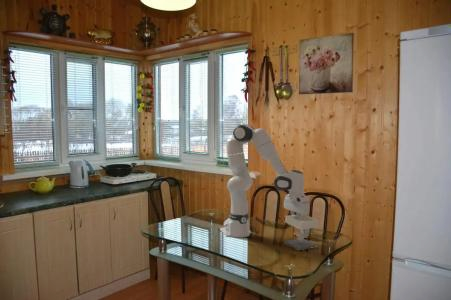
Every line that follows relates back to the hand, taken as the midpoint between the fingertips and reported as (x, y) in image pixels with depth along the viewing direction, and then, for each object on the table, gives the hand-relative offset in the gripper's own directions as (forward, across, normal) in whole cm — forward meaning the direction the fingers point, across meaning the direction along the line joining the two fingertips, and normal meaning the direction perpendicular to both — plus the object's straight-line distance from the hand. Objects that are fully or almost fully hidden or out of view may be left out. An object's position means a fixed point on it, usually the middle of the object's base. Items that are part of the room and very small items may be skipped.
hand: (295, 219), depth 211 cm
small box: (+15, -7, +12) cm, 20 cm away
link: (+2, +6, 0) cm, 6 cm away
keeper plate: (+15, +6, 0) cm, 16 cm away
